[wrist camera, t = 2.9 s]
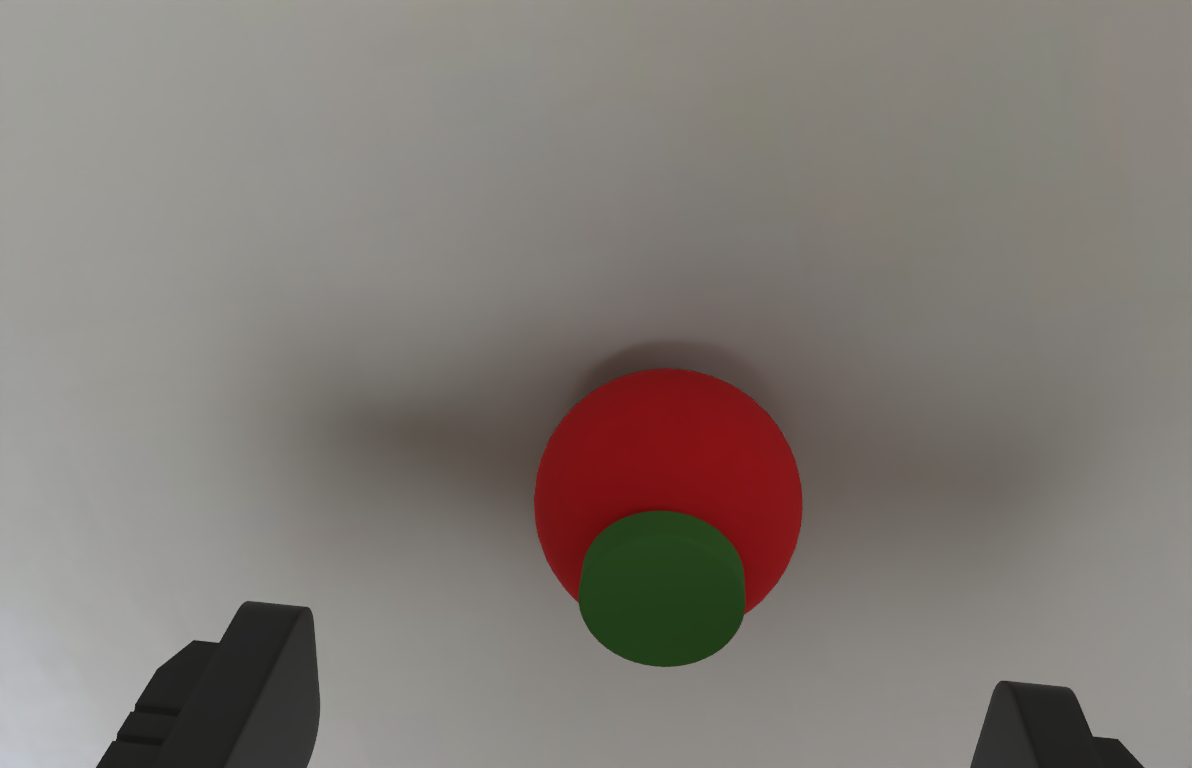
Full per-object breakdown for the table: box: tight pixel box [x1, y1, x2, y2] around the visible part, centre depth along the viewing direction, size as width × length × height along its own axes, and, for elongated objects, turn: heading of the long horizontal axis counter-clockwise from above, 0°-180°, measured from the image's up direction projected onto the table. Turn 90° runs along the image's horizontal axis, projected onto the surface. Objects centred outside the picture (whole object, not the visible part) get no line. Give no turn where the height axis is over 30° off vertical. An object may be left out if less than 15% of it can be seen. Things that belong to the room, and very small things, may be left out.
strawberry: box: [534, 369, 802, 667], centre depth 17 cm, size 4×4×4 cm
